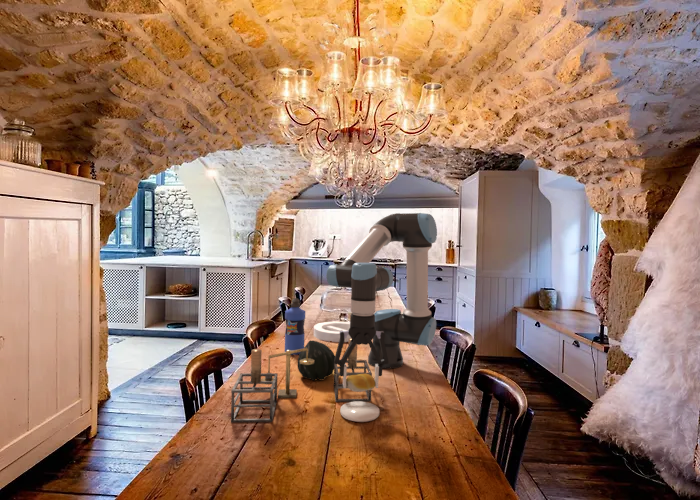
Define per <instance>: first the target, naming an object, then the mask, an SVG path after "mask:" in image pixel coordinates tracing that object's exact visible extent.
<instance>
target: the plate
mask: <svg viewBox="0 0 700 500" xmlns="http://www.w3.org/2000/svg"><path fill="white" fill-rule="evenodd" d="M339 411H340V412H339V413H340V415H341V416H342V418H344V419H346V420H348V421H352V422H359V423H364V422H371V421H374V420H377V418H378V417H379V416H380V408H379V407H378V406H377V405H376V404H374V403H371V402H363V401H354V402H345V403H344V404H342V405H341V406H340V410H339Z"/></svg>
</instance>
